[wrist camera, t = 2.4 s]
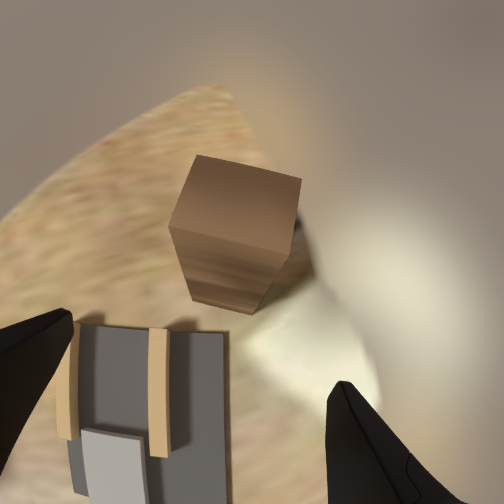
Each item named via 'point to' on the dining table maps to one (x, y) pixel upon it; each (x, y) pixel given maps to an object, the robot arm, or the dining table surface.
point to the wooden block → (233, 231)
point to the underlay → (143, 415)
